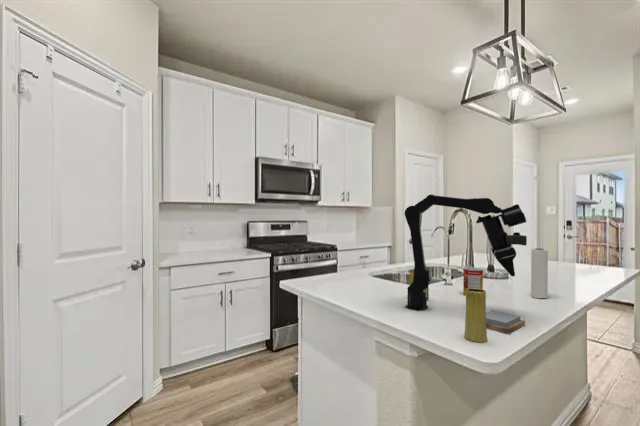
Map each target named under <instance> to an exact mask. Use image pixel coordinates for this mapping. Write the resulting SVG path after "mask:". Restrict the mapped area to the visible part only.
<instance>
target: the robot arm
mask: <svg viewBox="0 0 640 426" xmlns="http://www.w3.org/2000/svg"><path fill="white" fill-rule="evenodd" d="M432 206H440V207H448V208H449V207H450V208H459V209H465V210H468V211H472V212H475V213H479V214H481V215H483V216H480V215H479V216H478V217H477V220H476V221H475V222H476V224H481V223H482V225H483V228H484V232H485V233H486V235H487V239H488V240H489V244H490V247H491V248H490V250H491V252H492V254H493V257H494V258H495V259H496V261H497V262H498V263H499V264H500V265H501V266H502V267H503V268H504V270H505V271H506V272H507V273H508V274H509V275H510V276H511V277H515V276H516V273H515V266H514V265H515V264H514V260H515V258H516V257H517V251H516V249H515V248H514V247H512V246H513V245H518V246H527V235H521V233H520V232H516V231H513V234H508V233H507V232H506V231H505V229H504V227H503V225H504V226H507V227H508V228H511V227H516V226H518V225H521V224H525V223H527V218H526V216H525V213H524V212H523V211H522V209H521V207H520V205H519V204H517V203H516V204H514V205H512V206H510V207H506V208H503V209H502V208H501V207H498V206H497V205H495V203H494V201H493V200H492V199H491V198H488V197H479V198H478V197H476V198H461V197H460V198H459V197H454V196H453V197H451V196H444V195H435V194H428V195H427V196H425V197H424V198H423V199H422V200H420V201H419V202H417V203H416V204H414V205H409V206H408V207H406V209H405V210H404V217H405V220H406V223H407V225H408V228H409V230H410V238H411V240H410V241H411V247H412V253H413V264H414V270H413V272H414V277H413V282H412V283H411V284H410V283H409V285H408V287H407V304H406V305H404V307H405V308H408V309H410V310H411V309H412V310H415V311H422V310H423V311H424V310H425V309H428V308H429V306H428V305H427V302H428V301H427V297H426V292H423V290H425V289H426V288H427V287H429V285H430V284H431V281H432V280H433V277H432V273H431V272H432V269H431V267H430V268H427V265H426V259H425V252H424V246H423V245H424V244H423V237H422V229H421V227H422V221H423V220H422V219H423V218H422V217H423V213H425V212H426V211H427V210H429V209H430V208H432ZM491 214H495V216H492V215H491ZM501 221H502V222H501ZM502 223H503V225H502Z"/></svg>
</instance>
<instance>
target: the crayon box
mask: <svg viewBox="0 0 640 426" xmlns="http://www.w3.org/2000/svg"><path fill="white" fill-rule="evenodd" d="M413 277H414V271H410V272H409V285H410V284H411V283H412V282H413ZM429 291H430V289H429V286H428V287H427V288H426V289H425V290H423V292H426V297H427V302H428V300H429V296H430V295H429Z"/></svg>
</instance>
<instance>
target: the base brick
mask: <svg viewBox="0 0 640 426" xmlns="http://www.w3.org/2000/svg"><path fill="white" fill-rule="evenodd" d="M525 325H526V321H525V320H524V319H523V320H522V319H520V321H519V322H517V323H515V324H513V325H511V326H509V327H507V328H505V327H501V326H497V325H493V324H489V323H486V330H491V331H496V332H498V333H502V334H506V335H509V334H511V333H513V332H515V331H517V330H519V329H521V328H522V327H525Z"/></svg>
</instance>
